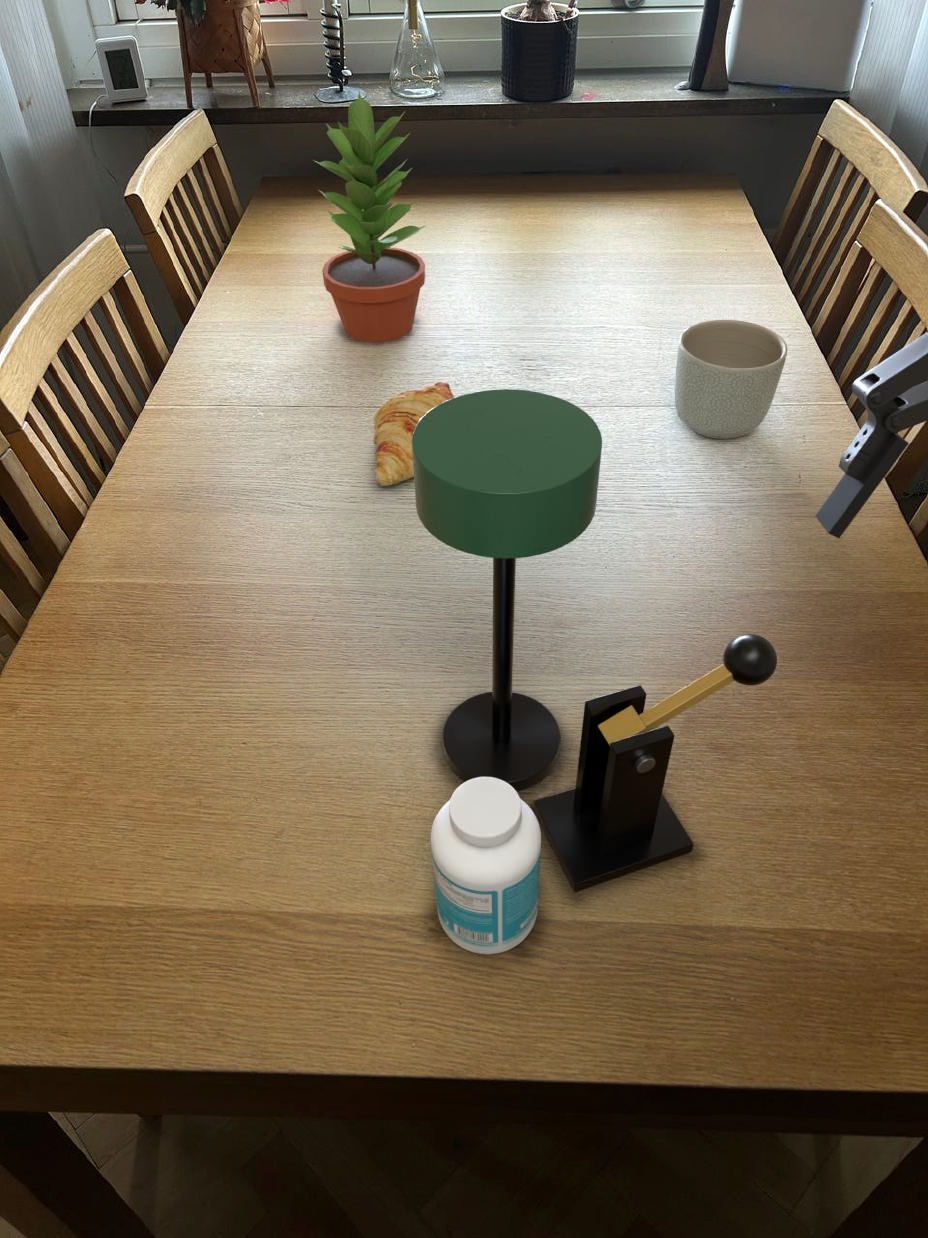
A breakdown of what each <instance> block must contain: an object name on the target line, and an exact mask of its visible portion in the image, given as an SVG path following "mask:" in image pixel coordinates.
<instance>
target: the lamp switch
mask: <svg viewBox="0 0 928 1238" xmlns="http://www.w3.org/2000/svg"><path fill="white" fill-rule="evenodd" d="M775 649H776V648H775V647H774V645H773V644H772V643H771V642H770V641H769V640H768V639H766V638H765V637H763V636H761V635H759V634H754V633H745V634H741V635H738V636H736V637H734V638H733V639H732V640H731V641H729V643H728V644H727V646H726V647H725V648H724V652H723V655H722V664H721V665H719V666H717V667H716V668H714V669H713V670H710V671H709V672H708V673H706V674H704V675H703V676H701V677H699V678H698V679H696V680H694V681H692V682H691V683H689V684H688V685H686V686H684V687H682V688H681V689H679V690H678V691H676V692H674V693H673V694H671V695H670V696H668V697H666V698H665V699H663V700H661V701H659V702H658V703H657V704H654V705H653V706H651V707H649V708H648V709H646V710H644V712H643V713H641V714H640V715H638V714H637V712H636V711H635V709H634V708H633V706H632V705H631V706H629V707H627V708H626V709H624V710H622V711H621V712H619V713H618V714H616V715H614V716H613V717H611V718H609V719H608V720H606V721H604V722H603V723H601V724H599V725H598V727H599V729H600V731H601V732H602V734H603V735H604V737H605V739H606V740H607V742H608V744H609V745H610V743H611V742H615V741H618V740H621V739H624V738H628V737H631V736H634V735H638V734H641V733H644V732H647V731H651V730H654V729H657V728H660V727H661V726H663V725H664V724H665V723H667V722H669V721H670V720H673V718H675V717H677V716H679V715H681V714H682V713H683V712H685V711H687V710H688V709H690V708H692V707H694V706H695V705H697V704H699V703H700V702H702V701H704V700H705V699H707V698H708V697H711V695H714V694H715V693H716V692H718V691H720V690H722V689H723V688H725V687H727V686H729V685H730V684H732V683H733V682H736V683H737V684H740V685H742V686H748V687H749V686H750V687H751V686H752V687H753V686H758V685H762V684H763V683H765V682H766V681H768V680H769V679H771V678H772V676H773V674H775V671H776V668H777V665H778V656H777V655H778V654H777V652H776V650H775Z"/></svg>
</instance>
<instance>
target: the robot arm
mask: <svg viewBox="0 0 928 1238" xmlns="http://www.w3.org/2000/svg"><path fill="white" fill-rule="evenodd" d="M927 378H928V331H926V332H925V333H924V334H922V335H920V336H918V337H917V338H916V339H914V340H913V341H912V342H910V343H909V344H907V345H905V346H903V348H901V349H899V350H898V351H896V352H895V353H893V354H892V355H891V356H889V357H887V358H886V359H884V360H882V361H881V362H880V363H878V364H877V365H875V366H874V367H873V368H871V369H870V370H868V371H866V372H865V373H863V374H861V376H859V377H858V378H856V379H855V380H854V382H853V383H852V386H851V391H852V394H853V395H854V396H855V397H856V398H857V399H858V400H859V401H860V403H861V404H862V405H863V407H864V408H865V411H866V413H867V418H866V420H865V422H864V424H863V425H862V427H861V429H860V430H859V431H858V433H857V434H856V436H855V437H854V439H853V440H852V441H851V443H850V444H849V445H848V447H847V449H846V450H845V451H844V452H843V454H842V455H841V457H840V460H839V463H838V467H839V469H840V470H841V471H843V473H844V474H843V476H842V477H841V479H840V480H839V482H838V483H837V484H836V485H835V487H834V489H833V490H832V491H831V493H830V494H829V495H828V497H827V498H826V499H825V501H824V502H823V504H822V505H821V507H820V508H819V510H818V511H817V512H816V514H815V515H814V517H815V518H816V519H817V521H818V522H819V523H820V524H821V526H822V527H823V529H824V530H825V531H826V533H828V534H829V535H830V536H832V537H835V538H837V539H840V538H841V537H842V536H843V534H844V533H845V531H846V530H847V529H848V528H849V526H850V524H852V522H853V521H854V519H855V518H856V517H857V515H859V512H860V511H861V510H862V509H863V507H864V505H866V503H867V502H868V500H869V498H871V496H872V495H873V494H874V492H875V490H876V489H877V488H878V486H879V485H880V484H881V482H882V481H883V480H884V478H885V477H886V475H887V474H888V473H889V471H890V470H891V469H892V467H893V466H894V465H895V464H896V462H897V461H898V459H899V458H900V456H901V455H902V454H903V452H904V451H905V450H906V448H907V447H908V445H909V444H910V443H909V442H908V441H907V439H906V440H905V438H903V437H902V436H901V435H900V434H899V433H900V432H902V431H905V430H907V429H911V428H913V427H914V426H917V425H920V424H922V423H925V422H928V380H927V381H924V380H926V379H927ZM923 381H924V382H923Z"/></svg>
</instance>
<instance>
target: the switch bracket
mask: <svg viewBox="0 0 928 1238" xmlns="http://www.w3.org/2000/svg"><path fill="white" fill-rule="evenodd" d="M646 700H647V693H646V691H645V689H644V687H643V686H642V685H640V684H638V685H635V686H632V687H628V688H625V689H622V690H617V691H614V692H611V693H607V694H605V695H604V694H603V695H601V696H598V697H594V698H590V699H587V700H585V701H584V708H583V715H582V716H583V718H582V727H581V734H580V744H579V752H578V753H579V754H578V763H577V771H576V779H575V787H574V788H573V787H572V788H570V789H567V790H564V791H559V792H557V793H554V794H551V795H547V796H545V797H541V798H539V799H536V800H533V804H532V806H533V807H532V811H533V813H534V815H535V816H536V818H537V821H538V823H539V825H540V826H541V828H542V830H543V832H544V834H545V836H546V838H547V840H548V842H549V845H550V847H551V849H552V850H553V852H554V854H555V856H556V858H557V860H558V862H559V864H560V866H561V868H562V870H563V872H564V874H565V876H566V879H567V881H568V883H569V885H570V886H571V889H572V891H573V892H574V893H577V892H581V891H583V890H586V889H589V888H591V887H595V886H597V885H601V884H603V883H606V882H609V881H613V880H615V879H618V878H621V877H623V876H626V875H629V874H633V873H635V872H638V871H641V870H644V869H646V868H650V867H653V866H655V865H659V864H662V863H664V862H667V861H670V860H673V859H675V858H678V857H682V856H684V855H688V854H691V853H692V851H693V849H694V845H695V844H694V842H693V840H692V839H691V837H690V835H689V834H688V832H687V830H686V829H685V827H684V825H683V824H682V822H681V821H680V820H679V818H678V816H677V815H676V813H675V812H674V810H673V808H672V807H671V805H670V804H669V802H668V800H667V798H666V797H665V796H664V794H663V790H664V786H665V783H666V778H667V773H668V768H669V763H670V759H671V754H672V749H673V746H674V745H673V744H674V741H675V734H674V732H673V731H672V729H671V727H670V726H669V725H668V724H667V725H664V726H659V727H657V728H655V729H654V730H651V731H647V732H644V733H641V734H638V735H634V736H631V737H628V738H624V739H621V740H618V741H615V742H611V743H610V745H609V744H608V742H607V740H606V739H605V737H604V735H603V734H602V732H601V731H600V729H599V727H598V725H599V724H601V723H603V722H604V721H606V720H608V719H609V718H611V717H613V716H614V715H616V714H618V713H619V712H621V711H622V710H624V709H626V708H627V707H629V706H631V705H632V706H633V708H634V709H635V711H636V712H637V714H638V715H640V714H641V713H643V712H645V706H646Z"/></svg>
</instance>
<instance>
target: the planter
mask: <svg viewBox="0 0 928 1238" xmlns="http://www.w3.org/2000/svg"><path fill="white" fill-rule="evenodd" d="M676 354H677V355H676V363H675V364H676V365H675V379H674V407H675V410H676V413H677V415H678V417H679V419H680V421H681V422H682V423H683V424H684V425H685V426H686V427H687V428H689V429H690V430H691V431H693V432H695V433H696V434H699V435H701V436H704V437H707V438H712V439H720V440H729V439H734V438H739V437H741V436H744V435H747V434H749V433H751V432H752V431H754V430H756V429H757V428H758V427H759V426H760V425H761V424H762V423H763V422H764V420H765V418H766V416H767V415H768V413H769V410H770V408H771V406H772V404H773V403H772V402H773V401H774V397H775V395H776V391H777V389H778V386H779V382H780V381H781V376H782V373H783V370H784V367H785V364H786V363H785V362H786V359H787V355H788V345H787V342H786V341H785V340H784V338H783V337H782V336H780V335H779V334H778V333H776V332H775V331H773V330H772V329H770V328H767V327H765V326H763V325H760V324H756V323H753V322H749V321H744V320H737V319H712V320H706V321H702V322H698V323H695V324H692V325H691V326H689V327H687V328H686V329H685V330H684V331H683V332H682V333H681V335H680V336H679V340H678V347H677V353H676Z"/></svg>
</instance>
